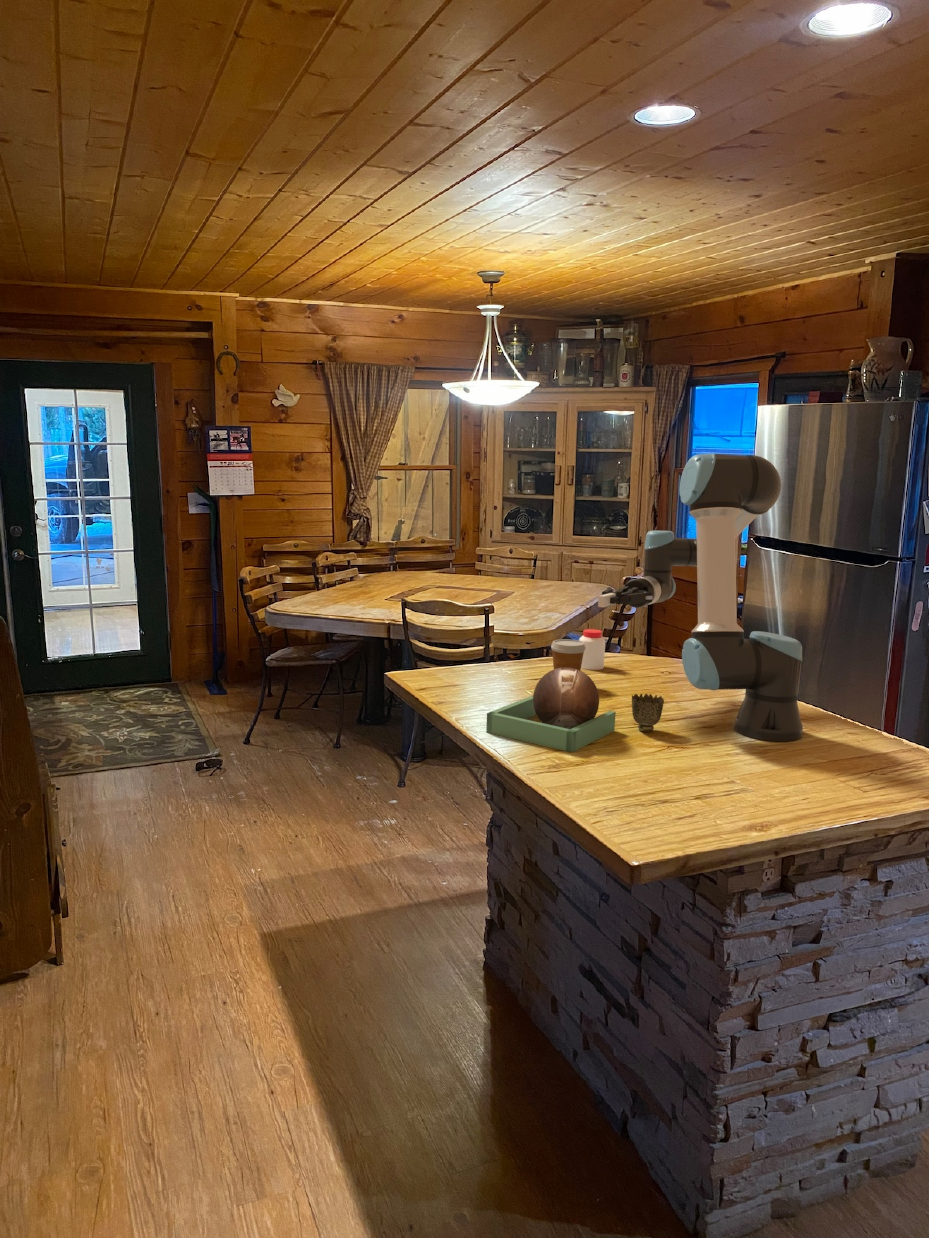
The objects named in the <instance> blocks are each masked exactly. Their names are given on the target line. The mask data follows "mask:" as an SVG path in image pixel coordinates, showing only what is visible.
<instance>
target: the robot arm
mask: <svg viewBox="0 0 929 1238" xmlns="http://www.w3.org/2000/svg"><path fill="white" fill-rule="evenodd" d="M781 480H782V479H781V476H780V473H779V471H778V470H777V468H776V467H775V466H774V464H773V463H772V462H771V461H769V460H768V459H766V458H764V457H763V456H759V455H755V454H746V455H745V454H731V453H729V454H727V453H714V452H713V453H712V452H710V453H701V454H695V455H693V456H691V458H689V460H688V461H687V462H686V464H685V466H684V468H683V470H682V473H681V476H680V481H679V482H680V483H679V488H678V489H679V498H680V501H681V503H683V505H685V506H689V508H688V509H689V515H690V516H691V517H692V518H693V519H695V522H696V523H695V524H696V538H686V537H685V538H684V537H683V538H682V537H675V533H674V532H673V531H671V530H649V531H648V532H647V533H646V535H645V541H644V550H643V551H644V552H643V553H644V554H643V555H644V557H643V571H642V572H643V573H642V576H641V577H637V578H632V579H630V580H628V581H626V583H625V585H624V586H622V587H620V588H617V589H616V590H615V588H612V587H606V589H605V590H602V591H601V594H600V595H598V597H597V598H598V600H597V608H606V607H612V606H614V605H625V606H630V607H632V608H637V609H638V608H641V607H643V608H647V607H648V605H653V604H656V603H663V602H665V601H668V600H669V599H671V598H672V596H674V594H675V593H676V589H677V584H676V582H675V579H674V577H672V573H673V571H672V570H673V567H696V575H697V576H696V578H697V579H696V580H697V581H696V582H697V584H696V585H697V589H696V590H697V624H696V625H695V627H694V628H693V629H692V630H691V637H689V638H688V639H686V640H685V641H684V642H683V645H682V649H681V651H682V652H681V660H682V666H683V667H682V668H683V671H684V675H685V676H686V678H687V680H688V681H689V683H690V684H691V686H692V687H694V688H695V689H698V690H708V691H709V690H710V691H718V690H719V691H720V690H721V691H722V690H725V691H726V690H727V691H728V690H730V691H731V690H732V691H733V690H745V691H744V694H745V695H744V698H743V700H742V703H741V705H740V708H739V710H738V713H737V715H736V716H735V719H734V726H733V727H734V730H735V731H736V732H737V733H739V734H741V735H743V736H746V737H749V738H752V739H757V740H763V741H769V742H772V741H773V742H791V741H793V742H794V741H797V740H799V739H801V738H802V737H803V732H804V726H803V723H802V722H801V721H802V720H801V714H800V709H799V705H798V700H799V699H798V698H799V690H800V689H799V687H800V679H801V672H802V671H801V670H802V662H803V646H802V644H801V642H800V641H799V640H797V639H795V638H794V637H793V638H792V637H790V636H786V635H783V634H779V633H773V632H767V631H759V630H758V631H757V630H756V631H755V630H753V631H751V632H750V635H749V638H745V631H744V629H743V628H742V627H741V626H740V625H739V624H738V620H737V571H736V570H737V568H736V567H737V565H736V564H737V562H736V561H737V560H736V558H737V557H736V539H737V537H739V535H741V533H743V531H745V530H746V528H747V527H748V526H749V525H750V524H751V523H752V522H753V521H754V520H755V519H756V518H757V517H758V516H760V515H764V514H766V513H767V512H769V510H770V509H771V508H773V507H774V505H775V504H776V503H777V501H778V500H779V497H780V494H781V490H782V482H781Z"/></svg>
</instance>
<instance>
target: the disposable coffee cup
mask: <svg viewBox="0 0 929 1238" xmlns="http://www.w3.org/2000/svg"><path fill="white" fill-rule="evenodd" d="M550 647H551V650H552V660H553V661H552V663H553V670H554V669H557V668H562V667H569V668H575V669H578V670H580V671H581V670H582V668H581V665H582V659H583V654H584V651H585V649H586V647H585V645H584V642H581V641H579V639H577V640H576V639H563V638H561V639H556V640H555V639H554V640H553V641H552V643H551V645H550Z"/></svg>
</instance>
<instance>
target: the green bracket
mask: <svg viewBox="0 0 929 1238" xmlns="http://www.w3.org/2000/svg"><path fill="white" fill-rule="evenodd" d="M616 713H617V711H612V710H608V711H606V712H604V713H602V714H599V715H596V716H595V718H593V719H591V720H589V721H587V722H585V723H583V724H581V725H578V726H576V727H574V728H572V729H566V728H562V727H557V726H553V725H548V724H544V723H542V722H540V721H535V720H534V721H533V720H530V718H532V717H534V716H537V715H536V713H535V710H534V706H533V695H530V696H527V697H524V698H523V699H520V700H517V701H515V702H513V703H510V704H507V705H504V706H502V707H499V708H496V709H493V710H492V711H489V712H487V713H486V731H485V732H486V734H487V733H488V734H492V735H496V736H501V737H505V738H508V739H509V738H510V739H513V740H517V741H521V742H526V743H530V744H534V745H538V746H541V747H542V746H544V747H547V748H551V749H555V750H559V751H562V752H563V751H564V752H568V753H574V752H576V751H578V750H580V749H582V748H584V747H586V746H588V745H590V744H592V743H593V742H595V741H597V740H599V739H601V738H603V737H605V736H607V735H609V734H611V733H613V732H614V731H615V728H616Z"/></svg>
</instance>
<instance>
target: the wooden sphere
mask: <svg viewBox="0 0 929 1238" xmlns="http://www.w3.org/2000/svg"><path fill="white" fill-rule="evenodd" d="M532 696H533V706H534V710H535V713H536V715H535V716H536V717H537V718H538V720H539V722H540V723H544V724H548V725H553V726H557V727H562V728H566V729H572V728H574V727H576V726H578V725H581V724H583V723H585V722H587V721H589V720H591V719H593V718H595V717H597V714H598V711H599V706H600V695H599V690H598V688H597V685H596V683H594V681H593V680H592V678H591V677H590V676H589V675H587V673H585V672H583V671H581V670H578V669H575V668H569V667H562V668H557V669H554V668H553V669H551V670H550V671H548V672H547V673H545V674H544V675H542V677H541V678H540V679H539V681H538V682H537V683H536V685H535V687H534V690H533V695H532Z"/></svg>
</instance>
